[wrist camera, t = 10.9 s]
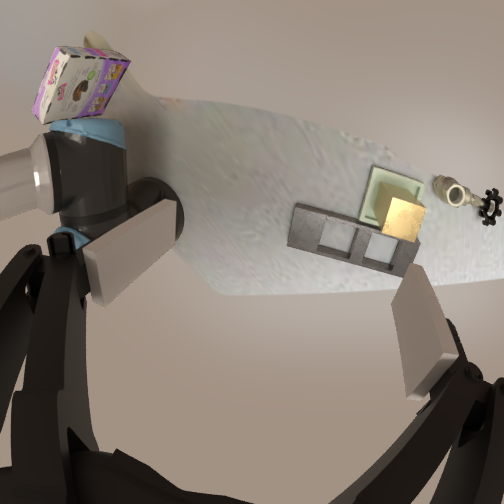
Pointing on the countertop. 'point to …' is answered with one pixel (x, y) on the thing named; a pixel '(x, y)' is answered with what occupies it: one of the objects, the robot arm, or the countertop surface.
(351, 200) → the countertop surface
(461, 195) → the valve
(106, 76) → the candy box
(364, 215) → the tray
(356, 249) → the grey slotted holder
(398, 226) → the wooden block
